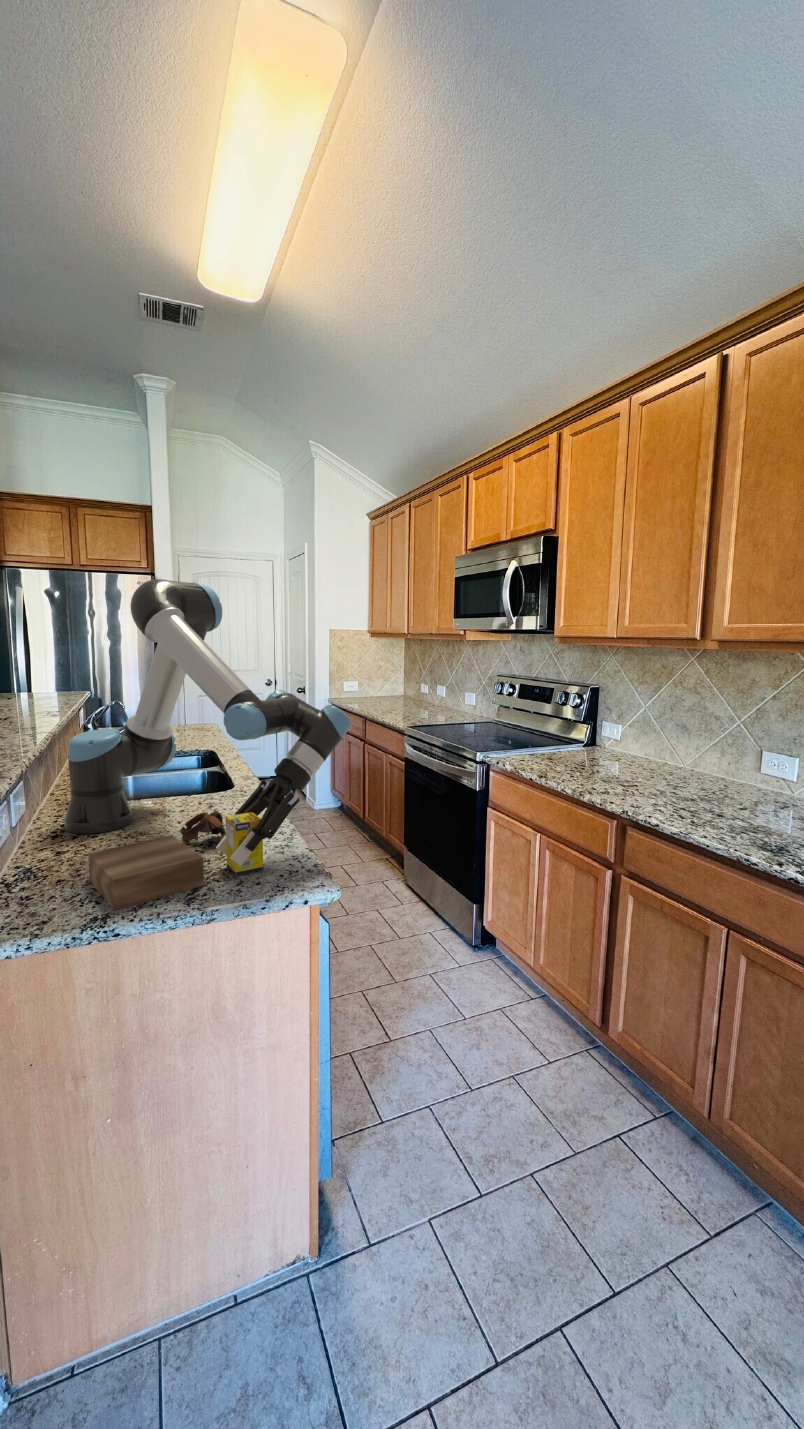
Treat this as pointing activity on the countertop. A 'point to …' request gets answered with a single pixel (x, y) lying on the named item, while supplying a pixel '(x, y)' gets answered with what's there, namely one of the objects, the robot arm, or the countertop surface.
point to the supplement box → (235, 836)
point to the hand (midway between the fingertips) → (228, 856)
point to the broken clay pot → (203, 826)
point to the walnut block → (145, 871)
